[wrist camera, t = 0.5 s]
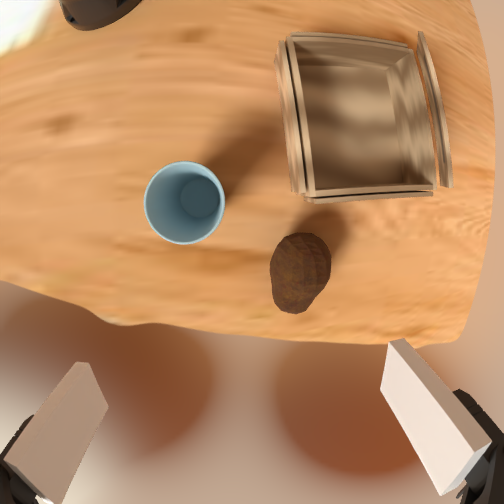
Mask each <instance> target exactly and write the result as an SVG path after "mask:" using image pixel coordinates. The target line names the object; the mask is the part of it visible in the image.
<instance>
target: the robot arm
mask: <svg viewBox="0 0 504 504" xmlns="http://www.w3.org/2000/svg"><path fill="white" fill-rule="evenodd" d="M140 1H141V0H59V3H60V6H61V8H62V11H63V14H64V17H65V19H66V21H67V22H68V23H69V24H70V25H72V26H73V27H74V28H76V29H78V30H82V31H89V30H95V29H98V28H101V27H104V26H106V25H109V24H111V23H113V22H114V21H116V20H118V19H120V18H121V17H123V16H124V15H125V14H127V13H128V12H129V11H131V10H132V9H133V8H134V7H135V6H136V5H137V4H138V3H139V2H140ZM380 390H381V391H382V394H383V395H384V397H385V398H386V400H387V402H388V404H389V405H390V407H391V409H392V410H393V412H394V414H395V415H396V417H397V419H398V421H399V422H400V424H401V426H402V428H403V429H404V431H405V433H406V435H407V436H408V438H409V440H410V442H411V443H412V445H413V447H414V449H415V451H416V452H417V454H418V456H419V458H420V460H421V461H422V463H423V465H424V466H425V469H426V471H427V472H428V474H429V476H430V478H431V480H432V482H433V484H434V485H435V487H436V489H437V491H438V493H439V495H440V496H441V495H443V494H445V493H447V492H449V491H451V490H453V489H455V488H456V487H458V486H459V484H460V483H461V482H462V481H463V480H464V479H465V480H466V482H467V484H466V485H465V487H464V488H463V489H462V490H461V491H460V492H459V493H458V495H457V497H456V498H459V497H460V496H461V495H462V494H463V496H462V499H461V503H460V504H504V433H502V431H501V430H500V429H499V428H498V427H497V425H496V424H495V423H494V422H493V421H492V419H491V418H490V417H489V416H488V415H487V414H486V412H485V411H483V409H482V408H481V407H480V406H479V405H477V403H476V401H475V400H474V399H473V398H472V397H471V396H470V395H469V394H468V393H466V392H464V391H462V390H460V389H458V390H456V391H453V392H452V391H451V390H450V389H449V388H448V387H447V386H446V384H445V383H444V382H443V381H442V380H441V379H440V378H439V376H438V375H437V374H436V373H435V372H434V371H433V370H432V369H431V367H430V366H429V365H428V364H427V363H426V362H425V361H424V360H423V359H422V358H421V356H420V355H419V354H418V353H417V352H416V351H415V350H414V349H413V348H412V346H411V345H410V344H409V343H408V342H407V341H406V340H405V339H404V338H403V339H399V340H394V341H390V342H389V344H388V351H387V357H386V362H385V368H384V373H383V378H382V383H381V388H380ZM107 409H108V405H107V403H106V401H105V398H104V397H103V394H102V392H101V390H100V388H99V386H98V383H97V381H96V379H95V377H94V374H93V372H92V370H91V367H90V365H89V363H83V362H76V363H75V364H74V365H73V366H72V368H71V369H70V370H69V371H68V373H67V374H66V375H65V376H64V378H63V379H62V380H61V381H60V383H59V384H58V385H57V386H56V388H55V389H54V390H53V391H52V393H51V394H50V395H49V397H48V398H47V399H46V401H45V402H44V403H43V404H42V406H41V407H40V409H39V410H38V411H37V413H36V414H35V415H32V416H30V417H29V418H28V419H26V420H25V421H24V422H23V424H22V425H21V426H20V428H19V430H18V431H17V432H16V433H15V436H13V437H12V439H11V440H10V442H9V443H8V444H7V446H6V447H5V449H4V450H3V452H2V453H1V454H0V504H39V503H38V501H37V500H36V499H35V497H36V495H38V496H39V497H40V498H41V499H42V500H44V501H45V502H46V503H49V504H61V503H62V501H63V499H64V497H65V494H66V492H67V490H68V488H69V486H70V483H71V481H72V479H73V477H74V475H75V473H76V471H77V468H78V467H79V465H80V462H81V460H82V458H83V456H84V454H85V452H86V450H87V448H88V446H89V444H90V442H91V440H92V438H93V436H94V434H95V432H96V430H97V428H98V426H99V425H100V423H101V421H102V418H103V417H104V415H105V413H106V411H107Z"/></svg>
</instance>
